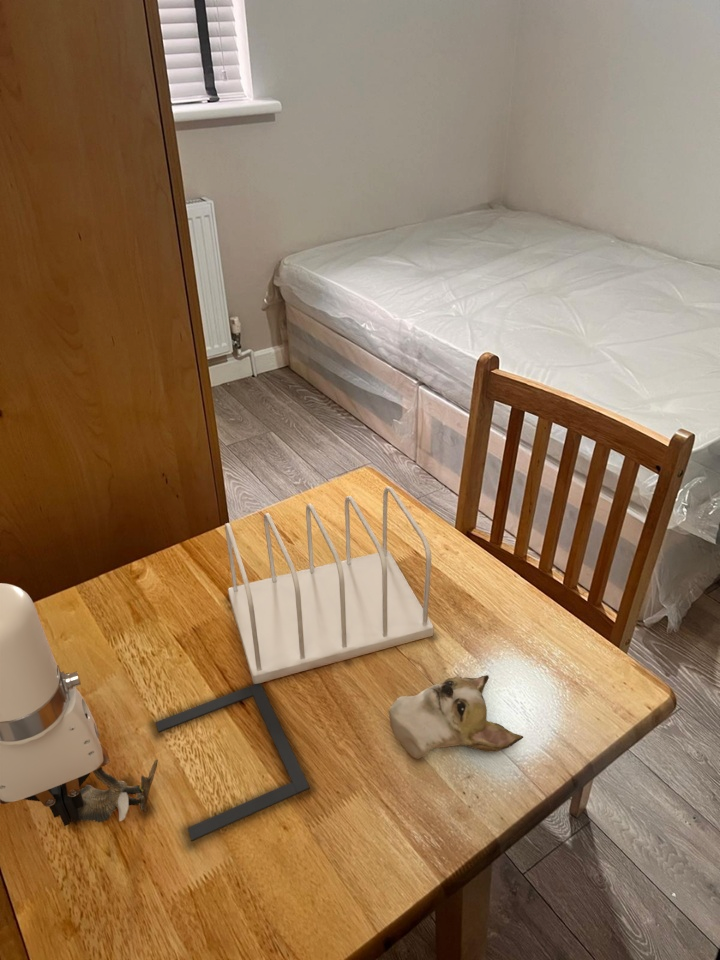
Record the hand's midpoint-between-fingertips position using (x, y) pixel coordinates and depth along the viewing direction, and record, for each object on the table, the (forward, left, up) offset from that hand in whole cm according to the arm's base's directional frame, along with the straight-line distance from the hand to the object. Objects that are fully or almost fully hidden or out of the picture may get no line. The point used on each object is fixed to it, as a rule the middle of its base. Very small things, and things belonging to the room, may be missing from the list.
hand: (70, 811), depth 78 cm
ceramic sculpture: (+42, -9, -2) cm, 43 cm away
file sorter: (+37, +15, -2) cm, 40 cm away
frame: (+17, 0, -1) cm, 17 cm away
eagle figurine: (+4, 0, -2) cm, 5 cm away
